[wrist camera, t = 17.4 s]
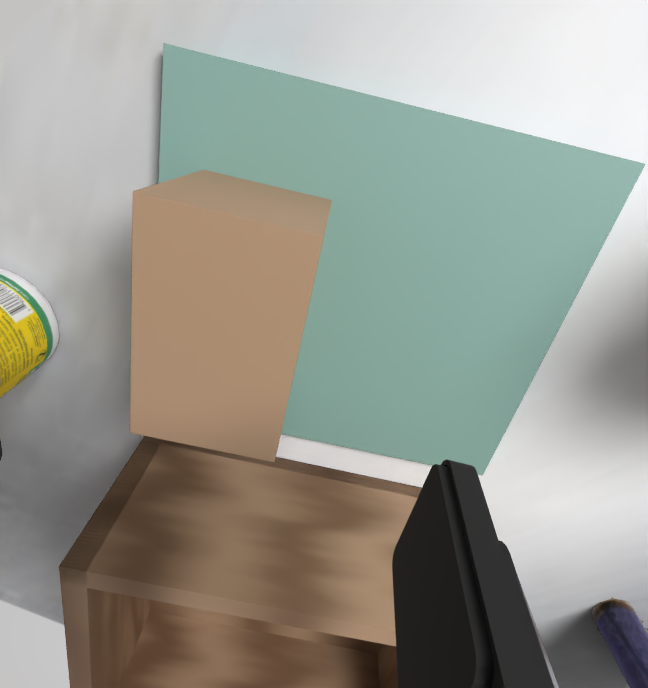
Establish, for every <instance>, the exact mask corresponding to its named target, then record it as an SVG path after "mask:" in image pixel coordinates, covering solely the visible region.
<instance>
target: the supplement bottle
mask: <svg viewBox="0 0 648 688" xmlns="http://www.w3.org/2000/svg"><path fill="white" fill-rule="evenodd" d="M58 340H59V329H58V323H57V320H56V317H55V315H54V312H53V310H52V308H51V306H50V304H49V303H48V301H47V300H46V299H45V298H44V296H43V295H42V294H41V293H40V292H39V291H38V290H37V289H36V288H35V287H34V286H33V285H31V284H30V283H29V282H28V281H26V280H25V279H23V278H21V277H20V276H18V275H16V274H14V273H12V272H9V271H7V270H4V269H1V268H0V397H2V396H3V395H4V394H5V393H7V392H8V391H9V390H11V389H12V388H13V387H15V386H16V385H17V384H19V383H20V382H21V381H22V380H24V379H25V378H26V377H28V376H29V375H30V374H31V373H33V372H34V371H35V370H36V369H38V368H39V367H40V366H41V365H42V364H43V363H44V362H46V361H47V360H48V359H49V358H50V357H51V355H52V354H53V353H54V351H55V349H56V347H57V344H58Z"/></svg>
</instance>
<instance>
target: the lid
mask: <svg viewBox="0 0 648 688" xmlns="http://www.w3.org/2000/svg"><path fill="white" fill-rule="evenodd" d="M644 166H645V164H643V163H639V162H635V161H631V160H627V159H623V158H619V157H615V156H611V155H607V154H603V153H599V152H595V151H591V150H587V149H583V148H580V147H576V146H572V145H568V144H564V143H560V142H556V141H552V140H548V139H544V138H540V137H536V136H532V135H528V134H524V133H520V132H516V131H512V130H508V129H504V128H500V127H496V126H492V125H488V124H484V123H480V122H476V121H472V120H468V119H464V118H460V117H456V116H452V115H448V114H444V113H440V112H436V111H432V110H428V109H424V108H420V107H416V106H412V105H408V104H404V103H400V102H396V101H392V100H388V99H384V98H380V97H376V96H372V95H368V94H364V93H360V92H356V91H352V90H348V89H344V88H340V87H336V86H332V85H328V84H324V83H320V82H316V81H312V80H308V79H304V78H300V77H296V76H292V75H288V74H284V73H280V72H276V71H272V70H268V69H264V68H260V67H256V66H252V65H248V64H244V63H240V62H236V61H232V60H228V59H224V58H220V57H216V56H212V55H208V54H204V53H200V52H196V51H192V50H188V49H184V48H180V47H176V46H172V45H169V44H165V43H164V45H163V72H162V99H161V126H160V153H159V180H158V184H155V185H152V186H149V187H145V188H142V189H139V190H136V191H133V216H132V305H131V395H130V433H134V434H139V435H143V436H148V437H153V438H158V439H163V440H168V441H173V442H178V443H183V444H188V445H192V446H197V447H202V448H207V449H212V450H217V451H222V452H227V453H232V454H236V455H241V456H246V457H251V458H256V459H261V460H266V461H271V462H275V457H276V453H277V448H278V444H279V439H280V435H281V434H285V435H289V436H294V437H299V438H304V439H309V440H313V441H318V442H323V443H328V444H333V445H337V446H342V447H347V448H352V449H357V450H362V451H366V452H371V453H376V454H381V455H386V456H390V457H395V458H400V459H405V460H410V461H414V462H419V463H424V464H429V465H434V464H438V465H441V464H442V462H443V461H444V460H447V459H448V460H452V461H456V462H460V463H464V464H468V465H472V466H473V467H475V469H476V471H477V474H478V475H483V473H484V471H485V469H486V468H487V466H488V464H489V462H490V460H491V458H492V456H493V454H494V452H495V450H496V448H497V447H498V445H499V443H500V441H501V439H502V437H503V435H504V433H505V431H506V429H507V427H508V426H509V424H510V422H511V420H512V418H513V416H514V414H515V412H516V410H517V408H518V406H519V405H520V403H521V401H522V399H523V397H524V395H525V393H526V391H527V389H528V387H529V385H530V384H531V382H532V380H533V378H534V376H535V374H536V372H537V370H538V368H539V366H540V364H541V363H542V361H543V359H544V357H545V355H546V353H547V351H548V349H549V347H550V345H551V343H552V342H553V340H554V338H555V336H556V334H557V332H558V330H559V328H560V326H561V324H562V322H563V321H564V319H565V317H566V315H567V313H568V311H569V309H570V307H571V305H572V303H573V301H574V299H575V298H576V296H577V294H578V292H579V290H580V288H581V286H582V284H583V282H584V280H585V278H586V277H587V275H588V273H589V271H590V269H591V267H592V265H593V263H594V261H595V259H596V257H597V256H598V254H599V252H600V250H601V248H602V246H603V244H604V242H605V240H606V238H607V236H608V235H609V233H610V231H611V229H612V227H613V225H614V223H615V221H616V219H617V217H618V215H619V214H620V212H621V210H622V208H623V206H624V204H625V202H626V200H627V198H628V196H629V194H630V193H631V191H632V189H633V187H634V185H635V183H636V181H637V179H638V177H639V175H640V173H641V172H642V170H643V168H644Z"/></svg>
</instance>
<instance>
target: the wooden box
mask: <svg viewBox="0 0 648 688" xmlns="http://www.w3.org/2000/svg"><path fill="white" fill-rule="evenodd" d="M421 490H422V488H420V487H415V486H410V485H406V484H401V483H396V482H391V481H387V480H382V479H377V478H373V477H368V476H363V475H358V474H354V473H349V472H344V471H339V470H335V469H330V468H325V467H321V466H316V465H311V464H306V463H302V462H297V461H292V460H288V459H283V458H278V457H275V462H271V461H266V460H261V459H256V458H251V457H246V456H241V455H236V454H232V453H227V452H222V451H217V450H212V449H207V448H202V447H197V446H192V445H188V444H183V443H178V442H173V441H168V440H163V439H158V438H153V437H148V436H144V438H143V439H142V441H141V443H140V444H139V446H138V447H137V449H136V450H135V452H134V453H133V455H132V456H131V458H130V459H129V461H128V462H127V464H126V465H125V467H124V468H123V470H122V471H121V473H120V474H119V476H118V478H117V479H116V481H115V482H114V484H113V485H112V487H111V488H110V490H109V491H108V493H107V494H106V496H105V497H104V499H103V500H102V502H101V503H100V505H99V506H98V508H97V510H96V511H95V513H94V514H93V516H92V517H91V519H90V520H89V522H88V523H87V525H86V526H85V528H84V529H83V531H82V532H81V534H80V535H79V537H78V538H77V540H76V541H75V543H74V545H73V546H72V548H71V549H70V551H69V552H68V554H67V555H66V557H65V558H64V560H63V561H62V563H61V564H60V566H59V570H60V581H61V592H62V603H63V614H64V625H65V636H66V647H67V658H68V668H69V680H70V688H398V672H397V652H396V633H395V613H394V594H393V574H392V559H393V553H394V549H395V547H396V544H397V542H398V540H399V538H400V536H401V533H402V531H403V529H404V527H405V525H406V522H407V520H408V518H409V516H410V514H411V511H412V509H413V507H414V505H415V503H416V501H417V498H418V496H419V494H420V492H421ZM519 582H520V581H519ZM520 585H521V584H520ZM521 588H522V587H521ZM522 591H523V589H522ZM523 594H524V592H523ZM524 597H525V595H524ZM525 600H526V597H525ZM526 603H527V600H526ZM527 606H528V609H529V612H530V615H531V618H532V621H533V624H534V627H535V630H536V633H537V636H538V639H539V642H540V645H541V648H542V651H543V654H544V658H545V661H546V664H547V667H548V670H549V673H550V676H551V679H552V682H553V685H554V688H559V686H558V684H557V681H556V678H555V675H554V673H553V670H552V667H551V665H550V662H549V659H548V657H547V654H546V651H545V649H544V646H543V643H542V640H541V638H540V635H539V632H538V630H537V627H536V624H535V622H534V619H533V616H532V614H531V611H530V608H529V605H528V603H527Z"/></svg>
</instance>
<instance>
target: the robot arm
mask: <svg viewBox="0 0 648 688" xmlns="http://www.w3.org/2000/svg"><path fill="white" fill-rule="evenodd" d="M1 457H2V447H1V441H0V460H1ZM392 574H393V594H394V613H395V633H396V652H397V672H398V688H554V685H553V682H552V679H551V676H550V673H549V670H548V667H547V664H546V661H545V658H544V654H543V651H542V648H541V645H540V642H539V639H538V636H537V633H536V630H535V627H534V624H533V621H532V618H531V615H530V612H529V609H528V606H527V603H526V600H525V597H524V594H523V591H522V588H521V585H520V582H519V579H518V576H517V573H516V570H515V567H514V564H513V561H512V558H511V555H510V553H509V551H508V548H507V546H506V545H505V544H504V543H503V542H502V541H498V538H497V535H496V532H495V528H494V525H493V522H492V519H491V516H490V513H489V509H488V506H487V503H486V500H485V497H484V493H483V490H482V487H481V484H480V481H479V478H478V474H477V471H476V469H475V467H473V466H472V465H468V464H464V463H460V462H456V461H452V460H448V459H447V460H444V461H443V462H442V464H441V465H438V464H434V465H433V466H432V468H431V470H430V472H429V474H428V476H427V479H426V481H425V483H424V485H423V487H422V490H421V492H420V494H419V496H418V498H417V501H416V503H415V505H414V507H413V509H412V511H411V514H410V516H409V518H408V520H407V522H406V525H405V527H404V529H403V531H402V533H401V536H400V538H399V540H398V542H397V544H396V547H395V549H394V553H393V559H392Z"/></svg>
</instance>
